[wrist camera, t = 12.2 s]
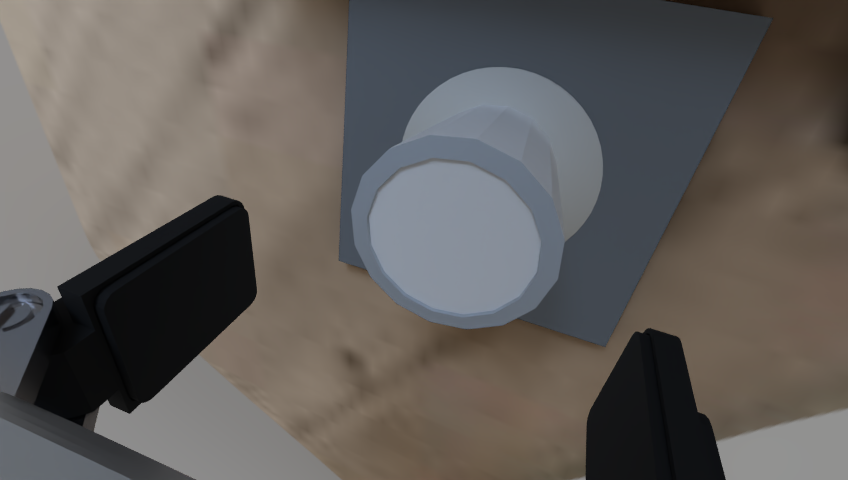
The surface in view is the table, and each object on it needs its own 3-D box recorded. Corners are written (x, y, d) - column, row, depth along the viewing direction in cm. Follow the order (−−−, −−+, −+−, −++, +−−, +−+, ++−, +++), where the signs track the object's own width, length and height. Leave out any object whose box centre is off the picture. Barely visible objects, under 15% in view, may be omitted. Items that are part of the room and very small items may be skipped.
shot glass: (609, 158, 17) (620, 241, 12) (503, 262, 21) (471, 363, 16) (475, 52, 17) (417, 82, 11) (392, 177, 21) (317, 247, 15)
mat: (362, -49, 18) (350, -51, 17) (763, 16, 15) (774, 18, 14) (346, 252, 26) (337, 261, 25) (604, 334, 23) (605, 348, 22)
